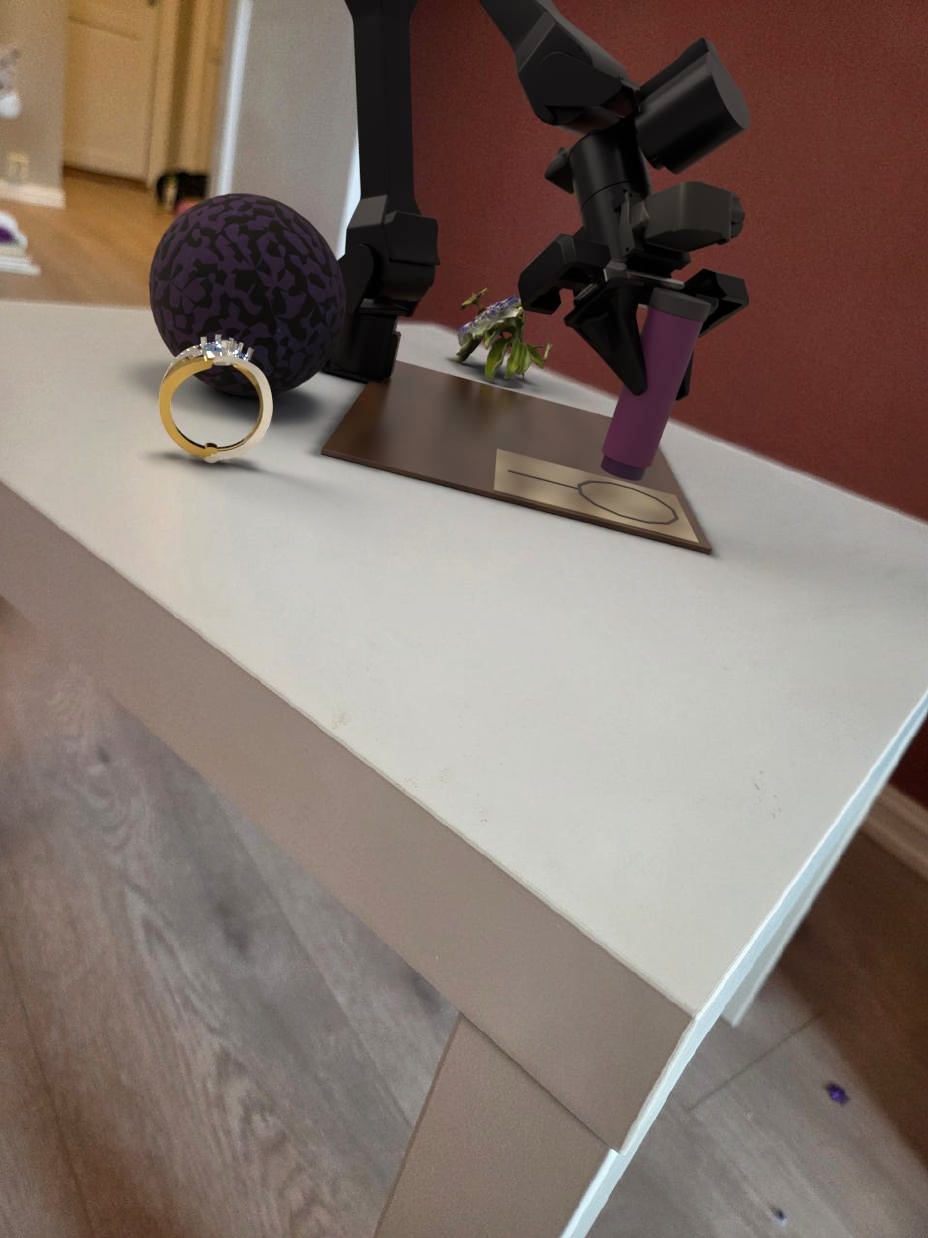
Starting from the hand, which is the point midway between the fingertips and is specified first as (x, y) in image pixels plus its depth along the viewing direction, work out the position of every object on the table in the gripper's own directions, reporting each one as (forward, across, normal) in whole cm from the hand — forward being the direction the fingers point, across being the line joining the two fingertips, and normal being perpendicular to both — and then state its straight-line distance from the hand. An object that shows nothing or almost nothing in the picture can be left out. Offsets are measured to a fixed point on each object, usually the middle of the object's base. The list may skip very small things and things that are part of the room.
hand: (661, 395), depth 65 cm
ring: (+2, -30, +12) cm, 33 cm away
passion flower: (-22, +14, +36) cm, 44 cm away
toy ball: (-10, -23, +24) cm, 34 cm away
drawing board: (-5, +1, +19) cm, 19 cm away
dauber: (+4, 0, +6) cm, 7 cm away
